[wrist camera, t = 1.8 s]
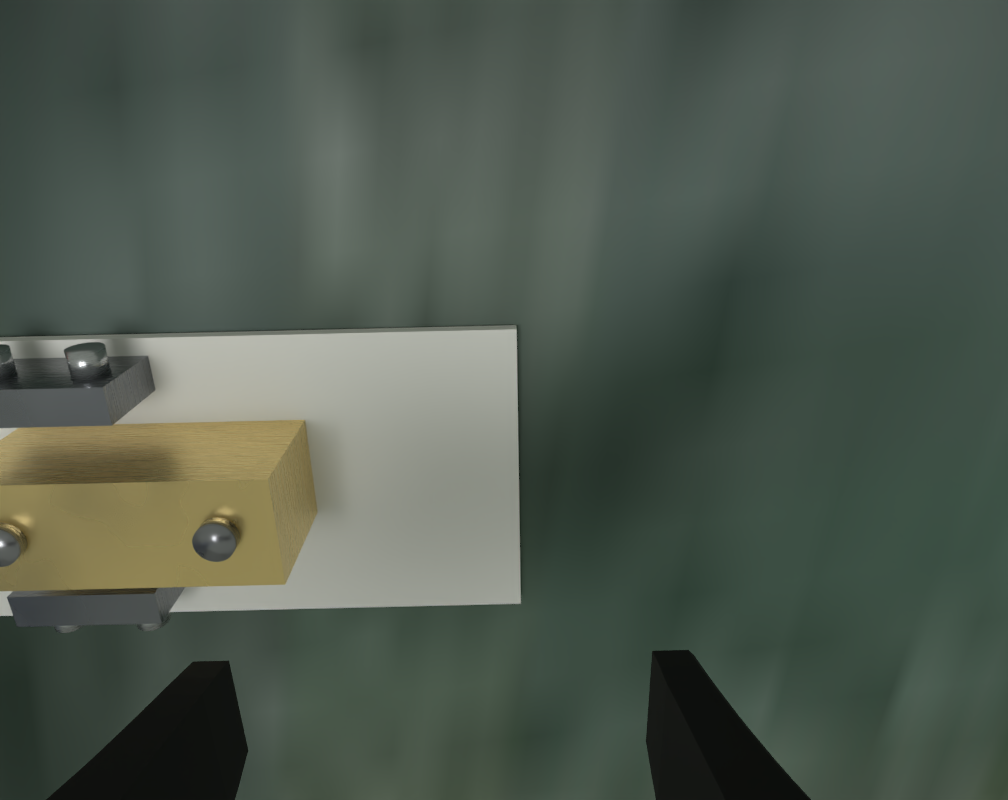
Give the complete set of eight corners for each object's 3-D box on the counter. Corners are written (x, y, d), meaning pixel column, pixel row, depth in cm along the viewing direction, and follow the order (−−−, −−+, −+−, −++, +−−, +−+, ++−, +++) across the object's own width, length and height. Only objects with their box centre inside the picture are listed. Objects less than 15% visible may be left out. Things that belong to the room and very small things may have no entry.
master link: (317, 512, 21) (281, 594, 18) (48, 518, 21) (-44, 602, 18) (305, 419, 20) (262, 487, 16) (20, 426, 20) (-84, 495, 16)
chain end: (199, 590, 22) (166, 643, 20) (71, 593, 22) (24, 647, 20) (142, 330, 19) (95, 359, 17) (-8, 334, 19) (-74, 363, 17)
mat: (520, 595, 23) (520, 603, 22) (-197, 612, 23) (-208, 620, 22) (516, 324, 19) (516, 329, 19) (-325, 344, 19) (-341, 349, 19)
